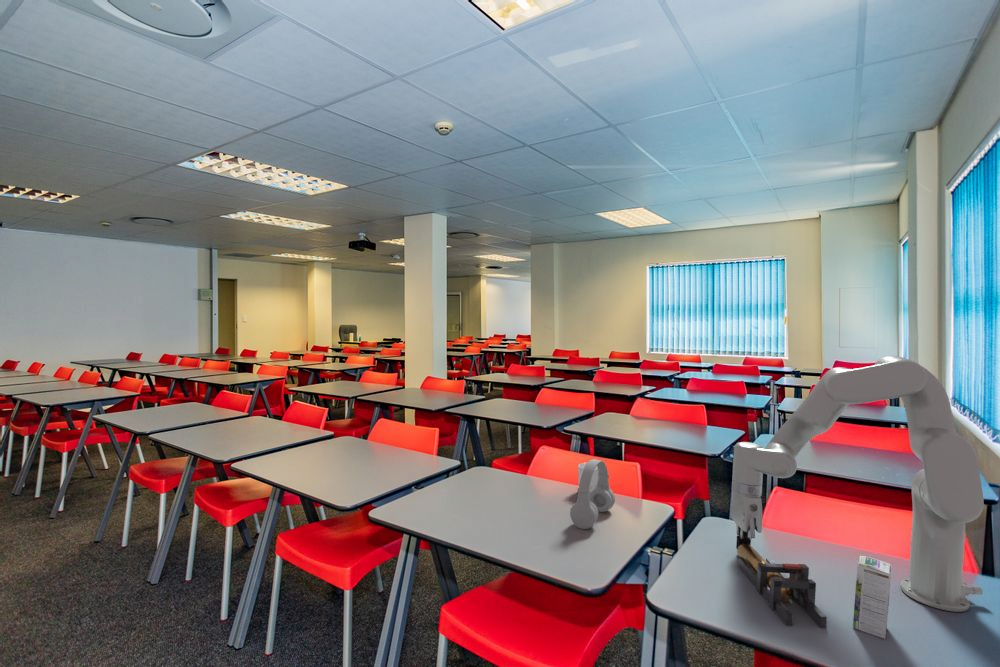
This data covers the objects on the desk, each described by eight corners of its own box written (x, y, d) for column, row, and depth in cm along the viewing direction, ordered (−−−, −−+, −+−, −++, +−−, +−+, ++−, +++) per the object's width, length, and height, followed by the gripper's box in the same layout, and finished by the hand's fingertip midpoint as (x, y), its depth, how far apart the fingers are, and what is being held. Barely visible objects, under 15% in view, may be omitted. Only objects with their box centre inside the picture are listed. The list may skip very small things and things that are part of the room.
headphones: (593, 533, 149) (595, 471, 148) (568, 526, 153) (570, 466, 152) (615, 511, 166) (617, 455, 165) (592, 505, 170) (593, 451, 169)
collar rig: (771, 567, 131) (773, 534, 130) (828, 627, 106) (830, 587, 105) (736, 565, 131) (738, 533, 131) (784, 625, 106) (786, 585, 106)
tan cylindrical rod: (738, 559, 135) (736, 544, 135) (754, 557, 135) (752, 542, 135) (776, 602, 115) (773, 585, 115) (795, 600, 115) (792, 582, 115)
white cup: (573, 489, 185) (574, 463, 184) (592, 487, 187) (593, 462, 187) (583, 497, 177) (584, 470, 177) (602, 495, 180) (603, 468, 179)
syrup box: (854, 616, 110) (857, 553, 109) (887, 627, 106) (891, 562, 106) (852, 628, 106) (856, 563, 105) (887, 640, 102) (891, 573, 101)
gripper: (773, 498, 129) (769, 565, 130) (748, 478, 143) (745, 539, 144) (744, 496, 129) (740, 563, 130) (722, 477, 144) (719, 537, 145)
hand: (743, 550), depth 137 cm, fingers closed
